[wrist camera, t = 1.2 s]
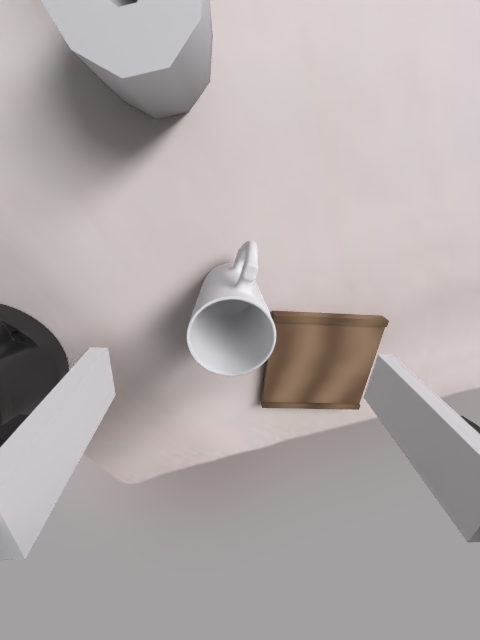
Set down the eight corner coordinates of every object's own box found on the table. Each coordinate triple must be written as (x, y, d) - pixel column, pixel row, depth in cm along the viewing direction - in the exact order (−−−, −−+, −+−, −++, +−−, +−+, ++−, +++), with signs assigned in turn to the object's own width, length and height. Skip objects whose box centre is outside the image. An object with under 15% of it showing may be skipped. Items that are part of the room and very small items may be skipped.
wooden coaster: (260, 400, 37) (262, 407, 36) (272, 310, 32) (274, 315, 30) (354, 402, 38) (358, 409, 37) (382, 315, 33) (388, 320, 31)
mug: (247, 322, 32) (259, 384, 21) (194, 308, 31) (178, 366, 20) (276, 241, 28) (307, 267, 17) (216, 222, 27) (210, 236, 16)
